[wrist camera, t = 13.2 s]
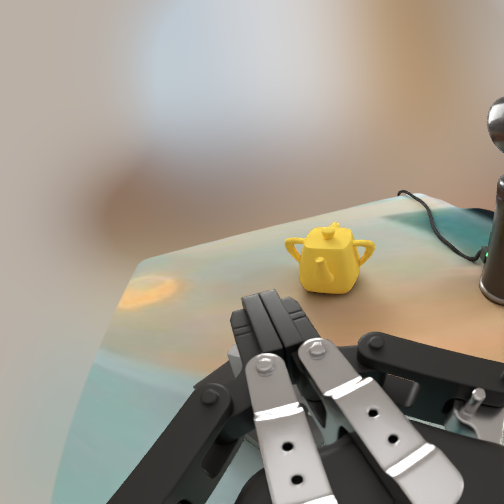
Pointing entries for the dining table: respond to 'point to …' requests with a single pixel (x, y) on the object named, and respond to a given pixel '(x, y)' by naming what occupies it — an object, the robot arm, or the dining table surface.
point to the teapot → (329, 259)
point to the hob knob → (237, 368)
